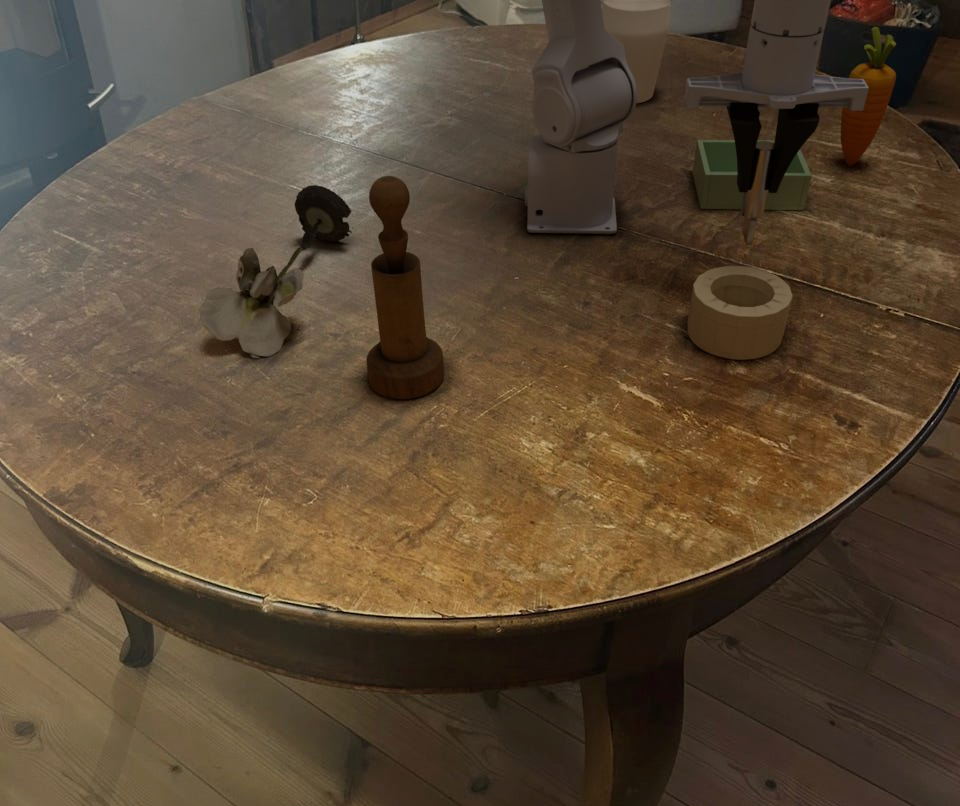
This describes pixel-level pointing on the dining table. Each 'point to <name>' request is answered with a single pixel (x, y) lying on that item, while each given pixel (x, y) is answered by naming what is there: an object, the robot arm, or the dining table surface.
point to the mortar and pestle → (399, 305)
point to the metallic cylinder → (757, 188)
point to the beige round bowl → (738, 312)
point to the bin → (720, 179)
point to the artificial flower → (272, 281)
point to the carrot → (868, 99)
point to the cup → (639, 37)
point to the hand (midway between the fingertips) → (756, 187)
